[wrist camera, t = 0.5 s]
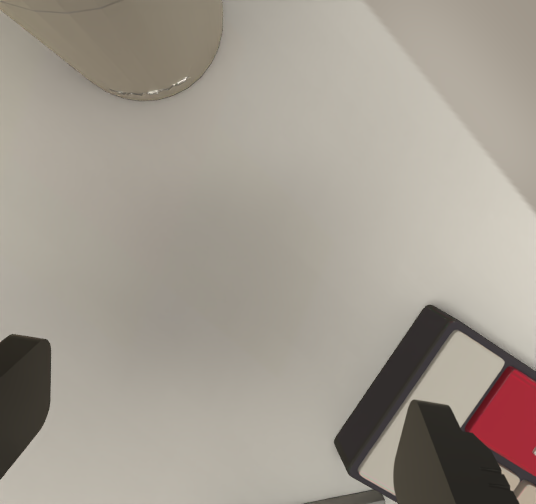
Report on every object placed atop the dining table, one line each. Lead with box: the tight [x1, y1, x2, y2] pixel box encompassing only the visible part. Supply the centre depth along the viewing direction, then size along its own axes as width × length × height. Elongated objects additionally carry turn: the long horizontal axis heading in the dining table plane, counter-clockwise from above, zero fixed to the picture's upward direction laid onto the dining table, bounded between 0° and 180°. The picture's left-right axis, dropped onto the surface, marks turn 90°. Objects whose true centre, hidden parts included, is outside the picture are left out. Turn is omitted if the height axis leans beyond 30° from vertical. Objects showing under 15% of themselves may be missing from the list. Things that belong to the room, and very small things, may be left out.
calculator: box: [334, 305, 536, 504], centre depth 31 cm, size 11×4×15 cm
